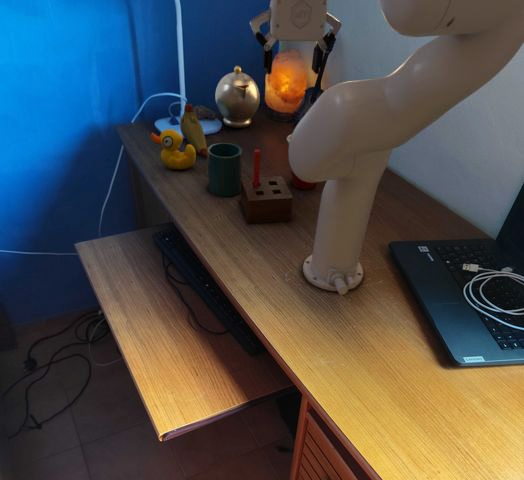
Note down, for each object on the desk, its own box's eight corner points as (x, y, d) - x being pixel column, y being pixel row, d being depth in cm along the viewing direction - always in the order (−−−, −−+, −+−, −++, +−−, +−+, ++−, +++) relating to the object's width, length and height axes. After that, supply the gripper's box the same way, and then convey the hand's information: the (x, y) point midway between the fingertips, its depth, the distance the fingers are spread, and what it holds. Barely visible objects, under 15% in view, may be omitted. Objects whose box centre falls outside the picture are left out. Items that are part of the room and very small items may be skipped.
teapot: (264, 131, 145) (267, 73, 133) (223, 135, 142) (222, 75, 130) (247, 109, 157) (248, 54, 145) (208, 112, 153) (206, 56, 141)
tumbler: (244, 195, 118) (244, 156, 111) (211, 197, 117) (209, 158, 109) (238, 179, 124) (238, 142, 116) (206, 181, 122) (205, 143, 115)
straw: (258, 208, 114) (260, 151, 104) (253, 208, 114) (255, 152, 104) (257, 205, 115) (259, 149, 105) (252, 205, 115) (254, 149, 105)
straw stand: (290, 220, 111) (293, 197, 107) (248, 223, 109) (248, 200, 105) (280, 198, 118) (282, 176, 114) (240, 201, 116) (240, 178, 112)
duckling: (152, 170, 125) (147, 132, 117) (157, 161, 128) (152, 124, 121) (194, 174, 125) (192, 136, 117) (198, 164, 128) (195, 127, 121)
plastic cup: (323, 176, 127) (330, 131, 118) (323, 195, 120) (330, 149, 111) (284, 172, 128) (288, 127, 119) (281, 191, 120) (285, 145, 111)
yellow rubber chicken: (215, 159, 131) (214, 122, 124) (196, 161, 129) (194, 124, 122) (192, 130, 143) (190, 95, 136) (175, 133, 142) (172, 97, 134)
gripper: (256, -37, 76) (252, 78, 89) (356, -33, 79) (338, 78, 91) (248, -46, 81) (245, 65, 93) (343, -42, 83) (328, 65, 96)
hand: (291, 71), depth 92 cm, fingers open, 9 cm apart
